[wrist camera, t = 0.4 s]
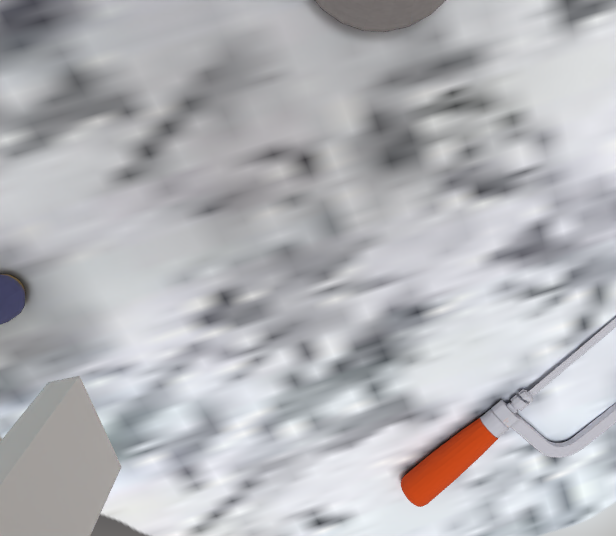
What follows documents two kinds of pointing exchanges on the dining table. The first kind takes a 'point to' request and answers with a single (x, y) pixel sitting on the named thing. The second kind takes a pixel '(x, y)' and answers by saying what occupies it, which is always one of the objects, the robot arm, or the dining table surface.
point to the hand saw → (488, 428)
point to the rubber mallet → (10, 297)
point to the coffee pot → (379, 12)
